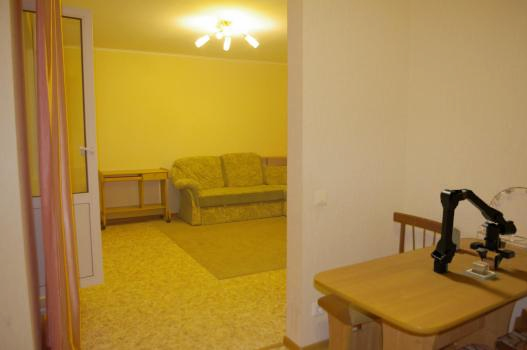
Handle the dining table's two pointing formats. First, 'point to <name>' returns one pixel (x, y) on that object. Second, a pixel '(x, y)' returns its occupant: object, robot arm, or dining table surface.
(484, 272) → the base block
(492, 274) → the board
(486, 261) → the top block
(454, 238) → the can
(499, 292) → the dining table surface
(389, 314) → the dining table surface
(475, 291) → the dining table surface
